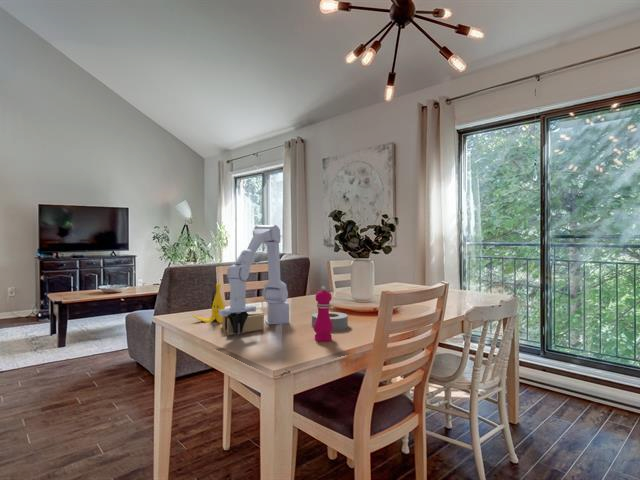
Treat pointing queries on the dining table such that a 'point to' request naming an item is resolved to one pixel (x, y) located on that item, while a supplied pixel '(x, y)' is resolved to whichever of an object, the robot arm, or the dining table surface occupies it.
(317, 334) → the pepper mill
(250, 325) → the front flap
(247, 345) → the dining table surface
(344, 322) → the tape roll
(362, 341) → the dining table surface
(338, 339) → the dining table surface
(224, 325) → the carton
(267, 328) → the dining table surface
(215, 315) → the banana peel
